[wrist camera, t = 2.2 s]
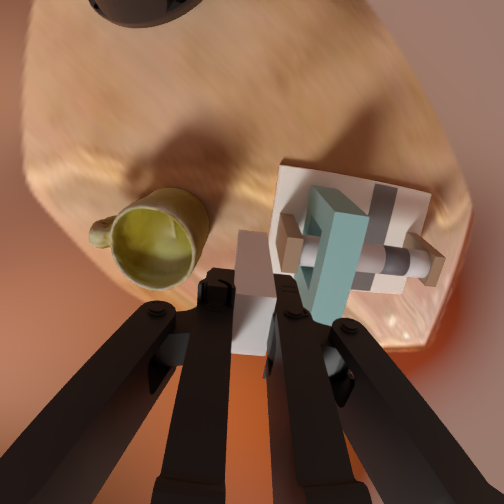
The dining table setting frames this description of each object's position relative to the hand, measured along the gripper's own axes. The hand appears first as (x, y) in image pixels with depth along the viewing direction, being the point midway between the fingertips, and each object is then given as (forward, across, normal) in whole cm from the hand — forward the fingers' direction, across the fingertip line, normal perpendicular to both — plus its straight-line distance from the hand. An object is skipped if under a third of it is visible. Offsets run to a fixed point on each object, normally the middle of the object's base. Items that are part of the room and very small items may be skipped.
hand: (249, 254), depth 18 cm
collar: (+18, +8, -4) cm, 20 cm away
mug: (+19, -10, -5) cm, 22 cm away
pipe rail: (+19, +12, -4) cm, 23 cm away
